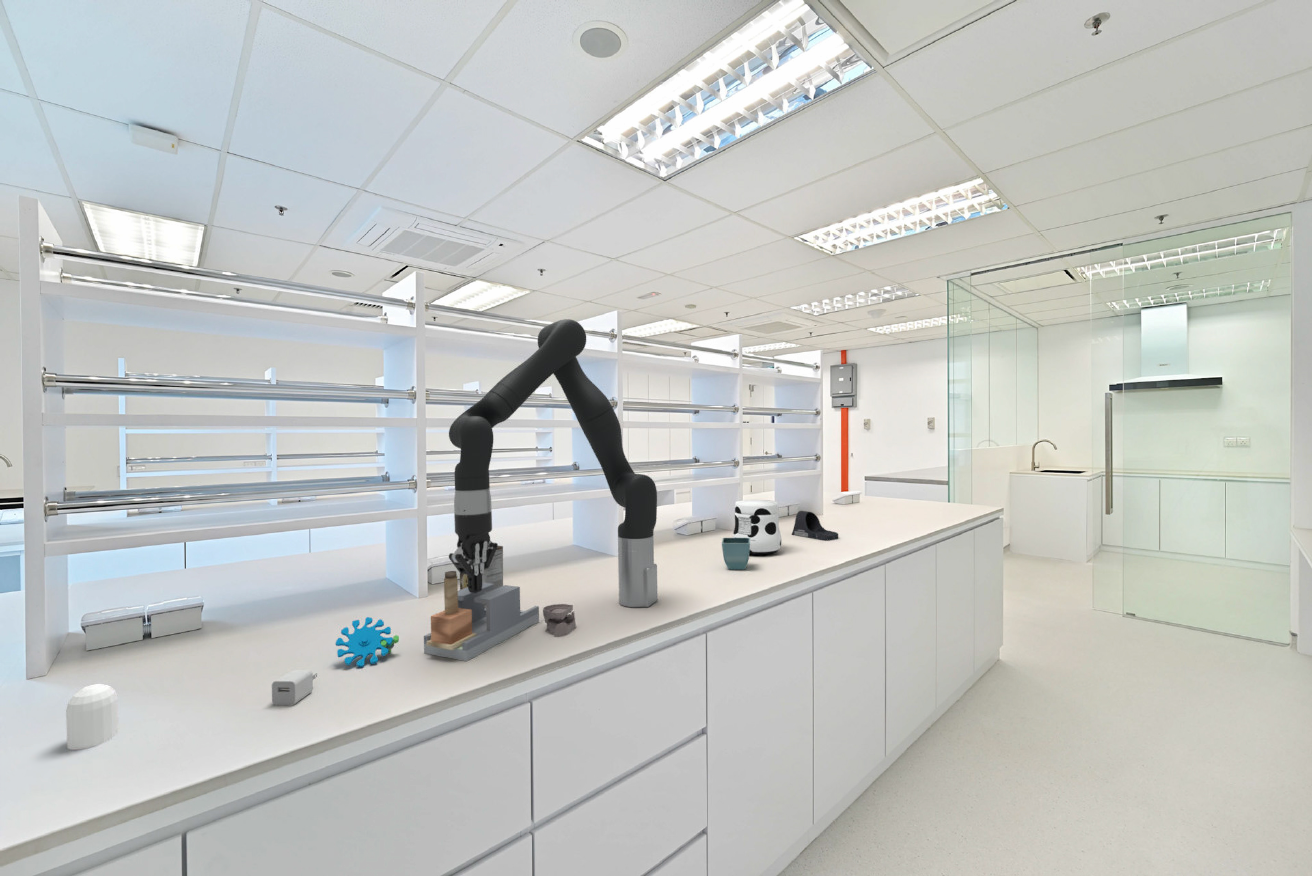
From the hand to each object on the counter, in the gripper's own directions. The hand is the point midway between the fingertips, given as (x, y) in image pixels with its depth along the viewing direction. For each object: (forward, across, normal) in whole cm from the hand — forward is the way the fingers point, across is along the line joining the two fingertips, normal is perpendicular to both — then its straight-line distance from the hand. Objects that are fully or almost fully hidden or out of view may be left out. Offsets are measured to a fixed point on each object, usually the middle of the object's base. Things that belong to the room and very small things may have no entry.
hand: (475, 591), depth 117 cm
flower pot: (+12, +79, -36) cm, 88 cm away
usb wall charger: (+11, -30, +13) cm, 34 cm away
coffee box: (+11, +17, +13) cm, 24 cm away
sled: (+8, -7, 0) cm, 11 cm away
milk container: (+12, +104, -37) cm, 111 cm away
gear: (+11, -15, +14) cm, 23 cm away
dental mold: (+11, +12, -13) cm, 21 cm away
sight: (+12, +140, -54) cm, 151 cm away
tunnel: (+11, +3, 0) cm, 11 cm away
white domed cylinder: (+10, -51, +28) cm, 59 cm away
